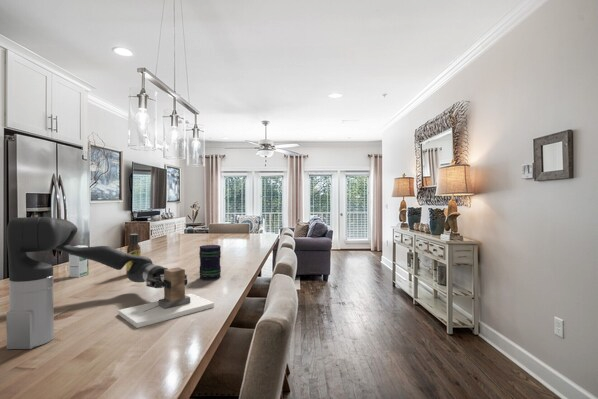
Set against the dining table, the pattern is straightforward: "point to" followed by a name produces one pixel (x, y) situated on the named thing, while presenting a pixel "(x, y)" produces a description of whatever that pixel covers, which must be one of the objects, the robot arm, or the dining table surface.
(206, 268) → the storage jar
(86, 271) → the syrup box
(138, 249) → the sauce bottle
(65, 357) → the dining table surface
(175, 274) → the block
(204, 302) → the board
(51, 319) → the robot arm
